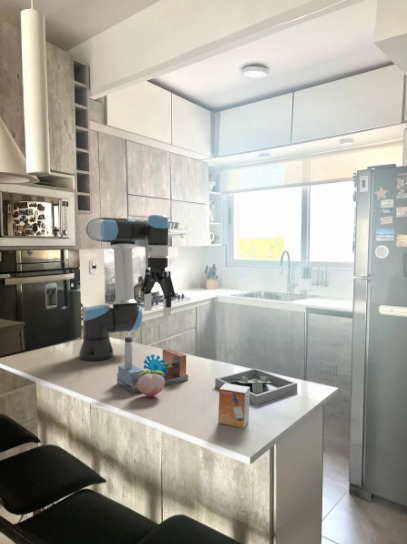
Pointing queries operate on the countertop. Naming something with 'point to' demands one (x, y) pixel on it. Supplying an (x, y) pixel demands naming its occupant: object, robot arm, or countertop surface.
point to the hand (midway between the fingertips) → (157, 313)
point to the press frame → (172, 376)
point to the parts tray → (261, 398)
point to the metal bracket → (255, 383)
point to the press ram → (128, 365)
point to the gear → (156, 364)
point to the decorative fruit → (151, 382)
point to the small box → (234, 405)
